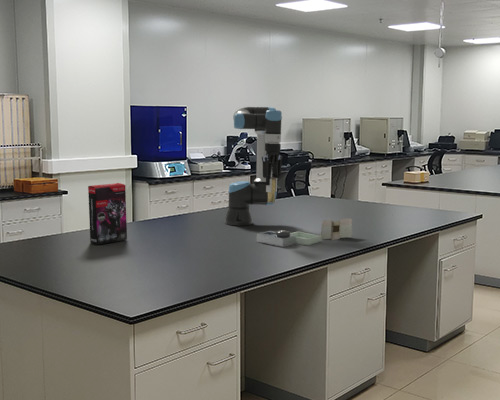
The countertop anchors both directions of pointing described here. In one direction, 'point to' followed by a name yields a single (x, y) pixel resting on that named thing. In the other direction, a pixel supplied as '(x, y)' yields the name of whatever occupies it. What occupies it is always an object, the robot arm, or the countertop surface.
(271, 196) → the lock pin
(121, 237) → the graphics card box
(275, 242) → the base
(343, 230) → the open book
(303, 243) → the tray
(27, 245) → the countertop surface
